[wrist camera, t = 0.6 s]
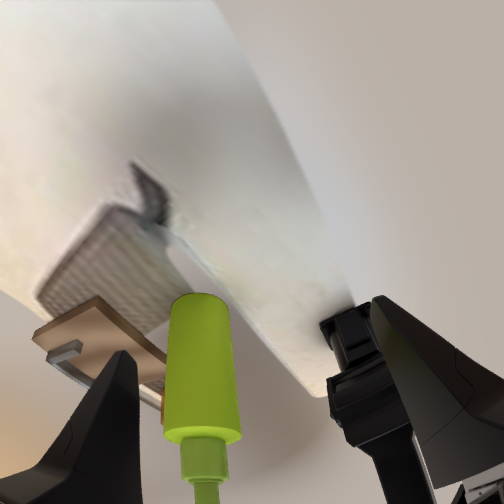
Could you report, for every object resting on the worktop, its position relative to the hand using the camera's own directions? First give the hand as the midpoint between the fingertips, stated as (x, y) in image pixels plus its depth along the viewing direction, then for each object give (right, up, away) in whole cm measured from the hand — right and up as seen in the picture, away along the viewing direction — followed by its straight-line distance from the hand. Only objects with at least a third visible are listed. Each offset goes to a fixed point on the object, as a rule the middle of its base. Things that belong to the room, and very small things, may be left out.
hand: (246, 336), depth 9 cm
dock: (-18, -9, +21) cm, 30 cm away
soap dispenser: (-5, -4, +19) cm, 20 cm away
